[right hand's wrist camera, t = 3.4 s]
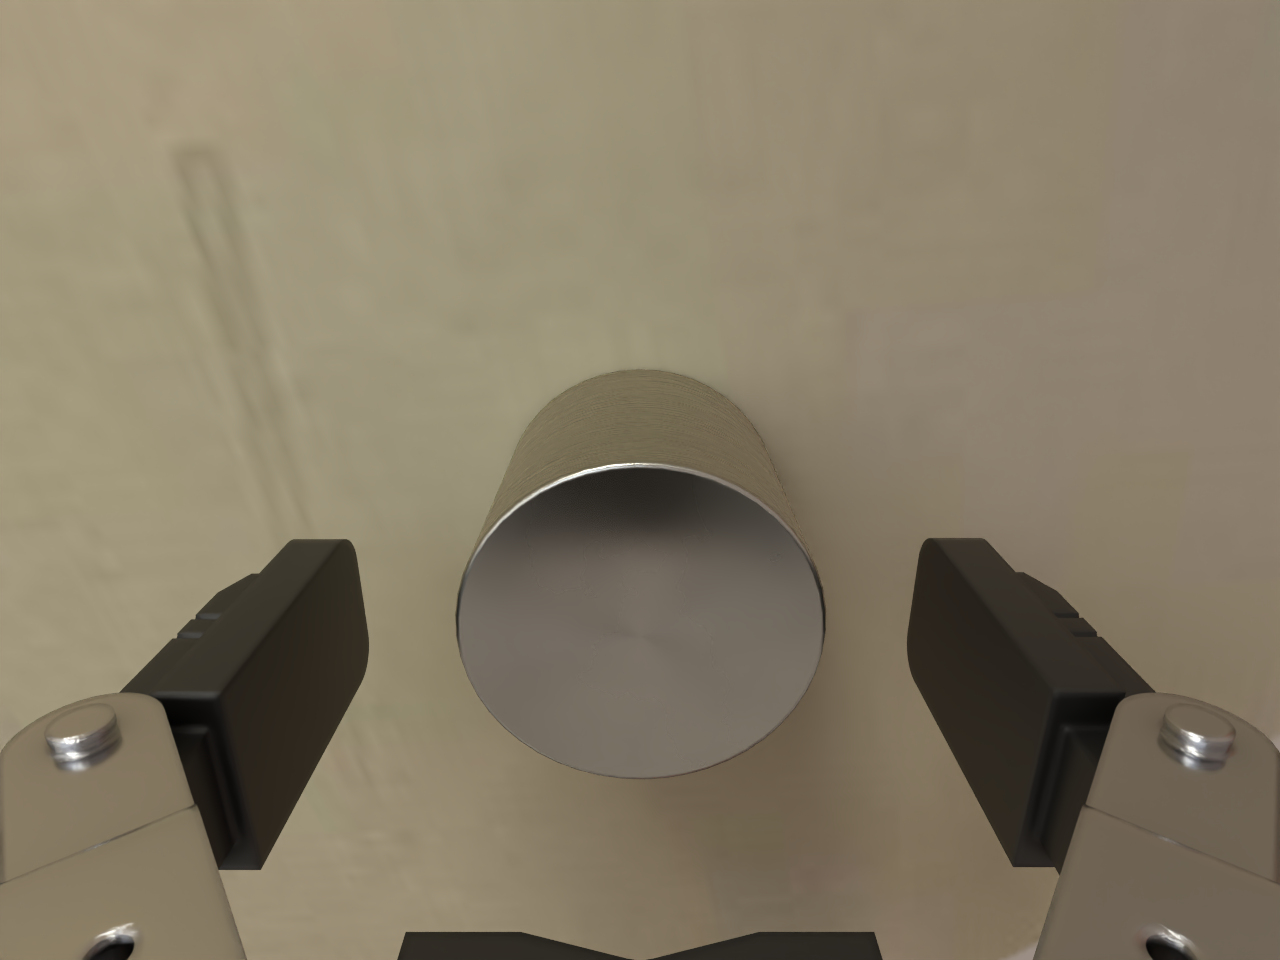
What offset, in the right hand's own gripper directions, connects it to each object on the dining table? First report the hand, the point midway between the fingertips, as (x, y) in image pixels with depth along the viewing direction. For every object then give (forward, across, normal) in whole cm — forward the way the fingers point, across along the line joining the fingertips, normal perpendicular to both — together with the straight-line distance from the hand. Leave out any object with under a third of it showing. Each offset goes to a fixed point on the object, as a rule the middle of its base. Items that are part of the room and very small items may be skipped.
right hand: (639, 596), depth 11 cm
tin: (+3, 0, 0) cm, 3 cm away
